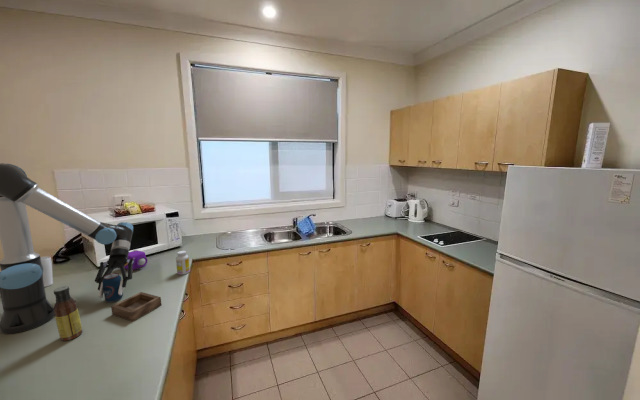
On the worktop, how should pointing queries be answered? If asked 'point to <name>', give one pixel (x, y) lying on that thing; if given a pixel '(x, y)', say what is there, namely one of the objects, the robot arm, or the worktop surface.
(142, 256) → the toy camera
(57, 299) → the sauce bottle
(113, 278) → the soda can
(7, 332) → the robot arm
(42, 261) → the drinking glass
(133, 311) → the brown wooden shallow tray
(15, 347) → the worktop surface
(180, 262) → the supplement bottle
